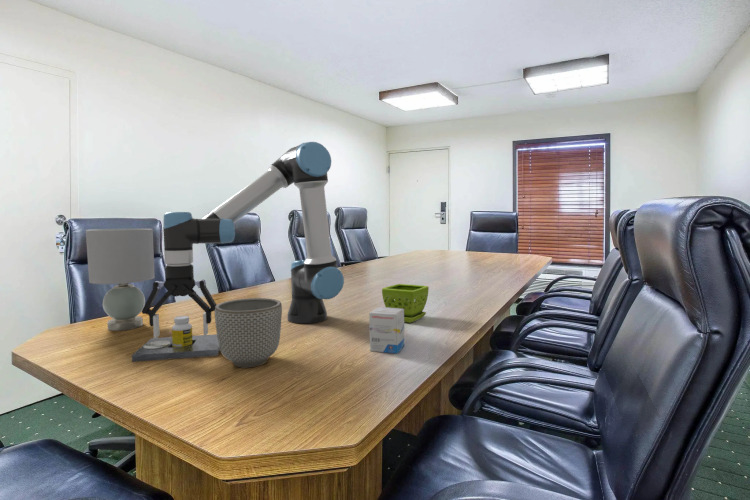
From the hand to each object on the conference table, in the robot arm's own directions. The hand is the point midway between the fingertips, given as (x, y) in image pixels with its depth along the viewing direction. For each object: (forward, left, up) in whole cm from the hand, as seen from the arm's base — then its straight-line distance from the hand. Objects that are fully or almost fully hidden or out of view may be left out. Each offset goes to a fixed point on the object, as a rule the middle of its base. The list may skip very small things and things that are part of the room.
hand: (181, 335), depth 119 cm
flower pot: (-75, -20, -5) cm, 78 cm away
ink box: (-60, +12, -5) cm, 62 cm away
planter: (-21, +15, -5) cm, 26 cm away
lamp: (+27, -32, -5) cm, 42 cm away
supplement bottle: (0, 0, -5) cm, 5 cm away
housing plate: (0, 0, -4) cm, 4 cm away
